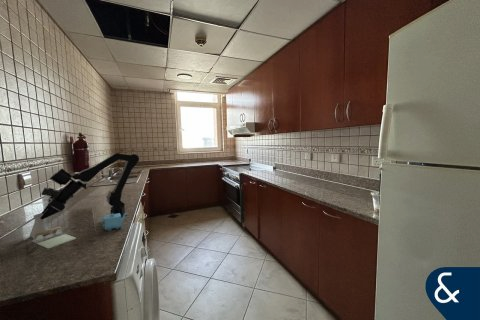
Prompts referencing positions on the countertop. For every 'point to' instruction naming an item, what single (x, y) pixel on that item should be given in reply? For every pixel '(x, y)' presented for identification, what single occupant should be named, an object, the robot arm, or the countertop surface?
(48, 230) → the rod
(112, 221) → the teapot
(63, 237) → the pad
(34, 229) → the flask
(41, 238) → the cradle
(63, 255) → the countertop surface
